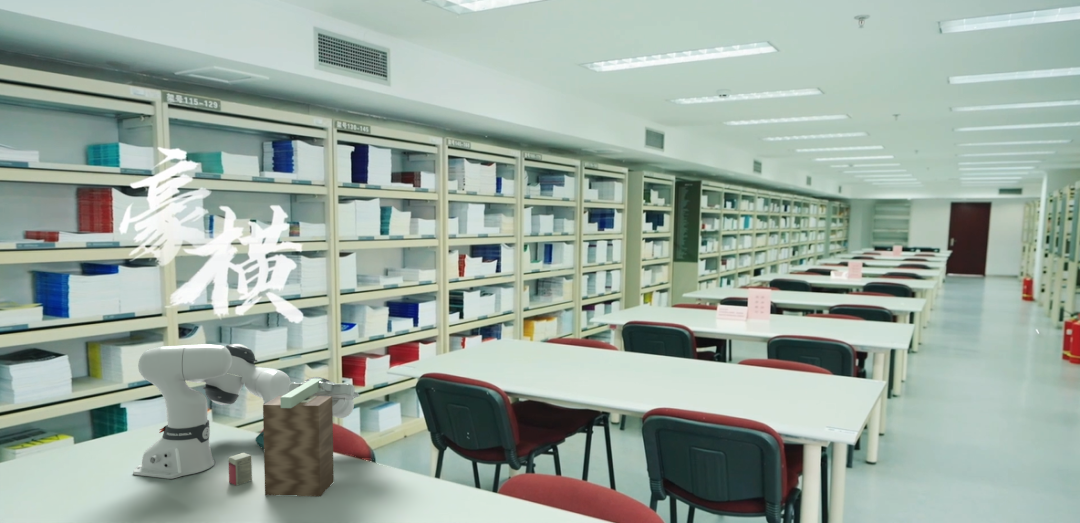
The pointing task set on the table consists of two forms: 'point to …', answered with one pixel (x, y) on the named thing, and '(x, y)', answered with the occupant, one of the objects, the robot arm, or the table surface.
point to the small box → (240, 468)
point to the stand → (298, 447)
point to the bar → (300, 393)
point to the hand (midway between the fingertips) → (313, 384)
